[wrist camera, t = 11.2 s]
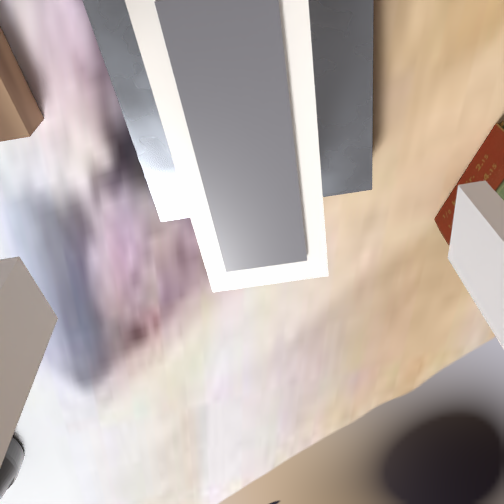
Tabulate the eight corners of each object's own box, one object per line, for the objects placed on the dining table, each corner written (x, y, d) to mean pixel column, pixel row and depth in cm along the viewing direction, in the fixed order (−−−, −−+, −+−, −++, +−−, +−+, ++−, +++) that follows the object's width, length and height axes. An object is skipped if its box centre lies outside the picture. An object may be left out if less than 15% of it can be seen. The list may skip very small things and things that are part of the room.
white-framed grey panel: (218, 190, 31) (212, 296, 23) (153, -74, 22) (108, -46, 14) (304, 176, 31) (329, 280, 23) (277, -99, 21) (302, -86, 13)
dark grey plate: (165, 201, 32) (161, 221, 30) (36, -182, 20) (15, -188, 18) (363, 170, 31) (372, 189, 29) (361, -255, 19) (375, -271, 17)
